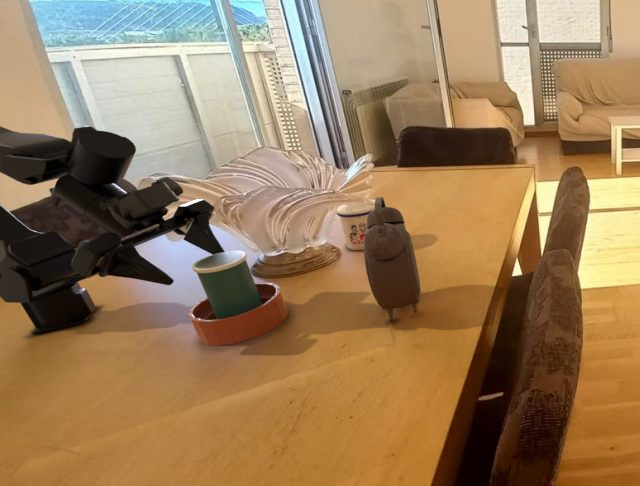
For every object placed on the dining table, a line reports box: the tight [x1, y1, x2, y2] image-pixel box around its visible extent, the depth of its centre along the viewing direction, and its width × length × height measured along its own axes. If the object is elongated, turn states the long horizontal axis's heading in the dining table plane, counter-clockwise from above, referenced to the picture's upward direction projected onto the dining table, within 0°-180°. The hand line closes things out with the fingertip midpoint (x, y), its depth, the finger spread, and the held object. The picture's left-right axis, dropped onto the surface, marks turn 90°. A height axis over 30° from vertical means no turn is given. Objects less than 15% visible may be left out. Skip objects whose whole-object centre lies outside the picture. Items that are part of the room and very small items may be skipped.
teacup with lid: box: [336, 198, 375, 251], centre depth 109 cm, size 12×9×12 cm
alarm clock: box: [363, 196, 421, 323], centre depth 80 cm, size 15×7×20 cm, turn 23°
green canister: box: [191, 250, 263, 319], centre depth 77 cm, size 7×7×12 cm
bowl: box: [187, 282, 289, 347], centre depth 78 cm, size 12×12×5 cm
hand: (199, 268), depth 76 cm, fingers open, 9 cm apart
